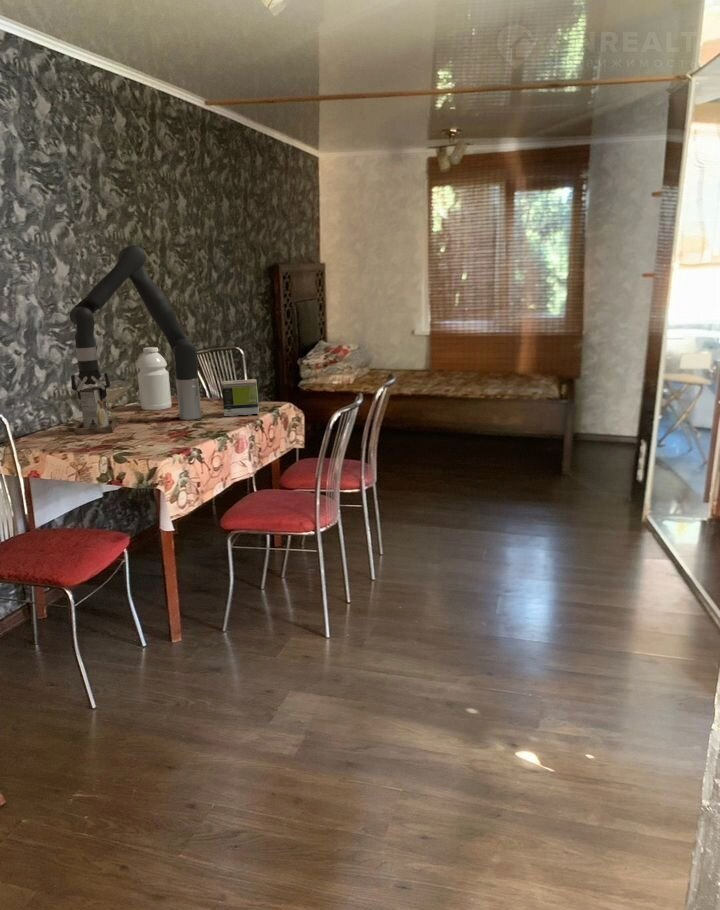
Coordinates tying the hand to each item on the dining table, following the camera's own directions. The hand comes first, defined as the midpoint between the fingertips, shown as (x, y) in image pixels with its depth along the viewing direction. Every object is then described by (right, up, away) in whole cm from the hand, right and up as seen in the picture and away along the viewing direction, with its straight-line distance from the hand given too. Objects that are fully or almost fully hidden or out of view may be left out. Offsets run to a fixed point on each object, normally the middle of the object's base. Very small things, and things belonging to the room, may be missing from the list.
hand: (93, 399), depth 277 cm
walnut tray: (0, -12, +3) cm, 13 cm away
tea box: (+55, -4, +29) cm, 62 cm away
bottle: (+11, 0, +48) cm, 50 cm away
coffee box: (0, -11, +4) cm, 12 cm away
